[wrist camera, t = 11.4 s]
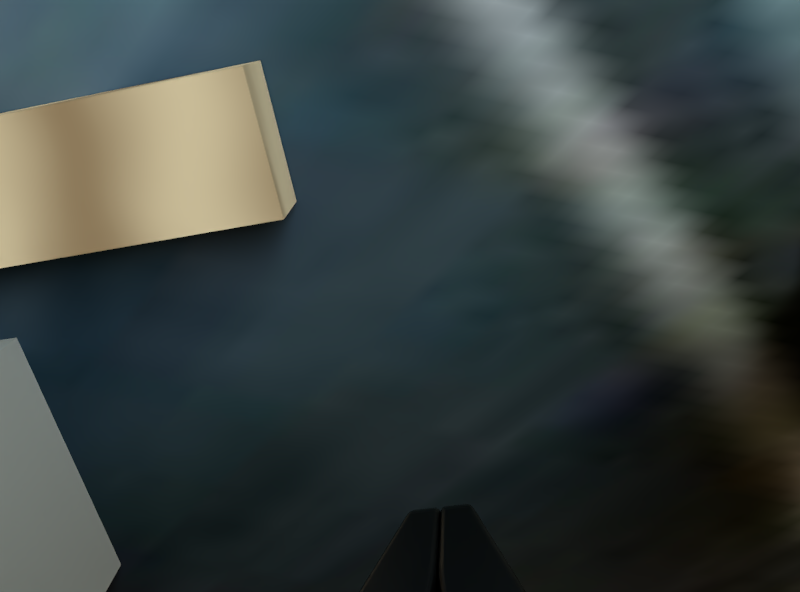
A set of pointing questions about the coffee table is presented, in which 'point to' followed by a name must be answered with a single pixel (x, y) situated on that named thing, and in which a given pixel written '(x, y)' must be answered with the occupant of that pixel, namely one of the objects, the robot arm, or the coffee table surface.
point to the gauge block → (43, 496)
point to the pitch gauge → (141, 166)
